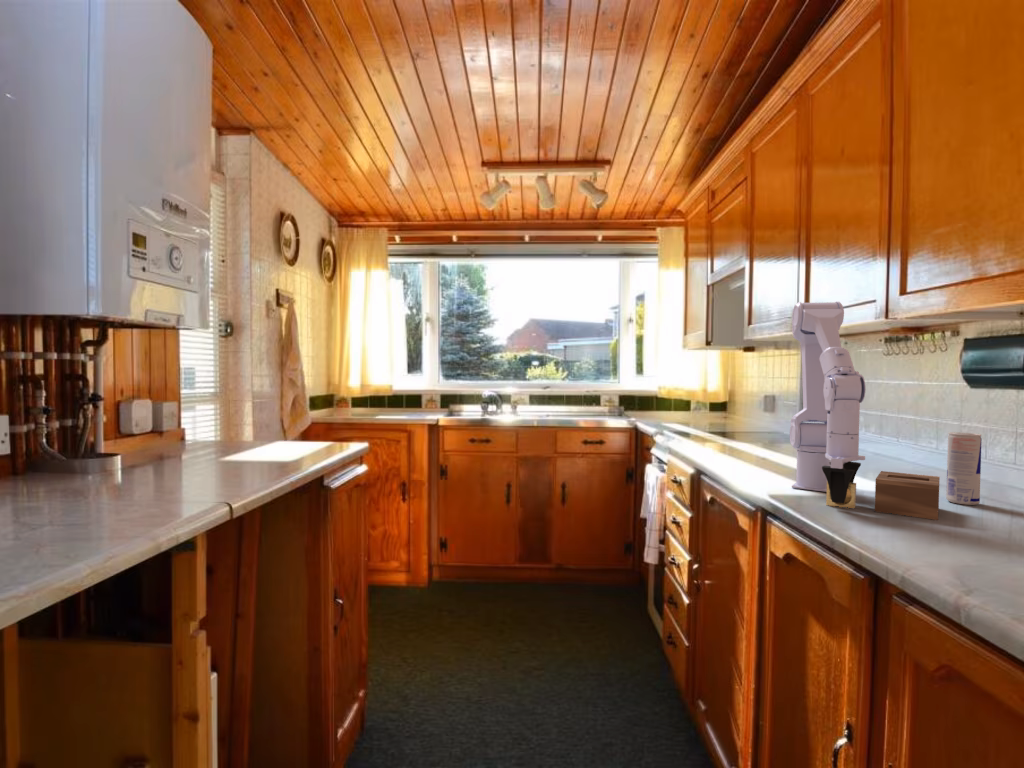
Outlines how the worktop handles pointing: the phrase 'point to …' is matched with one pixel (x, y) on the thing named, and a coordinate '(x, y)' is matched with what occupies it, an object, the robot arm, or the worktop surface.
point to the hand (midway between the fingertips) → (841, 499)
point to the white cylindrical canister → (963, 468)
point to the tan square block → (850, 497)
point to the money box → (907, 494)
